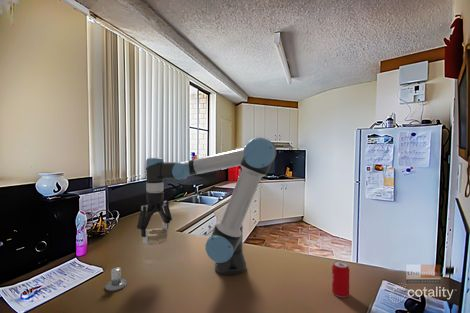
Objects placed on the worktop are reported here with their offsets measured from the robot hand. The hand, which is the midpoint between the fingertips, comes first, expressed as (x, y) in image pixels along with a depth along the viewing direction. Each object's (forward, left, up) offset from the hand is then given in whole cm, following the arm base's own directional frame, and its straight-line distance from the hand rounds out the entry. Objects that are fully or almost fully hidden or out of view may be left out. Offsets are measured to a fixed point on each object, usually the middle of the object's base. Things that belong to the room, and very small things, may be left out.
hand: (155, 240), depth 112 cm
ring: (0, 0, 0) cm, 0 cm away
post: (+5, +16, -16) cm, 23 cm away
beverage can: (-73, -31, -16) cm, 81 cm away
